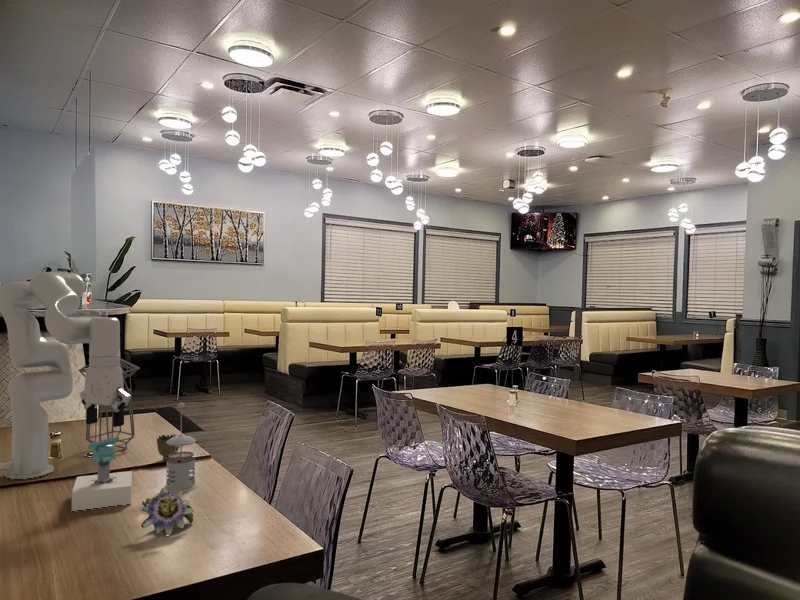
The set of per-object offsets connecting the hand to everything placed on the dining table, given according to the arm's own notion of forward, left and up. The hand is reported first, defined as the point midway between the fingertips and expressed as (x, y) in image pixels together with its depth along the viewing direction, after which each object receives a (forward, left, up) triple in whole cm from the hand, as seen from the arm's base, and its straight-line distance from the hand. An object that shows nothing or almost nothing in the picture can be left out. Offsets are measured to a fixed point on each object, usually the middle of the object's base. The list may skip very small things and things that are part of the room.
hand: (105, 424), depth 158 cm
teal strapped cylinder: (0, 0, -21) cm, 21 cm away
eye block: (0, 0, -21) cm, 21 cm away
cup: (+18, +33, -21) cm, 43 cm away
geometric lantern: (-1, +53, -21) cm, 57 cm away
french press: (+20, +3, -21) cm, 29 cm away
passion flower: (+15, -28, -21) cm, 38 cm away
